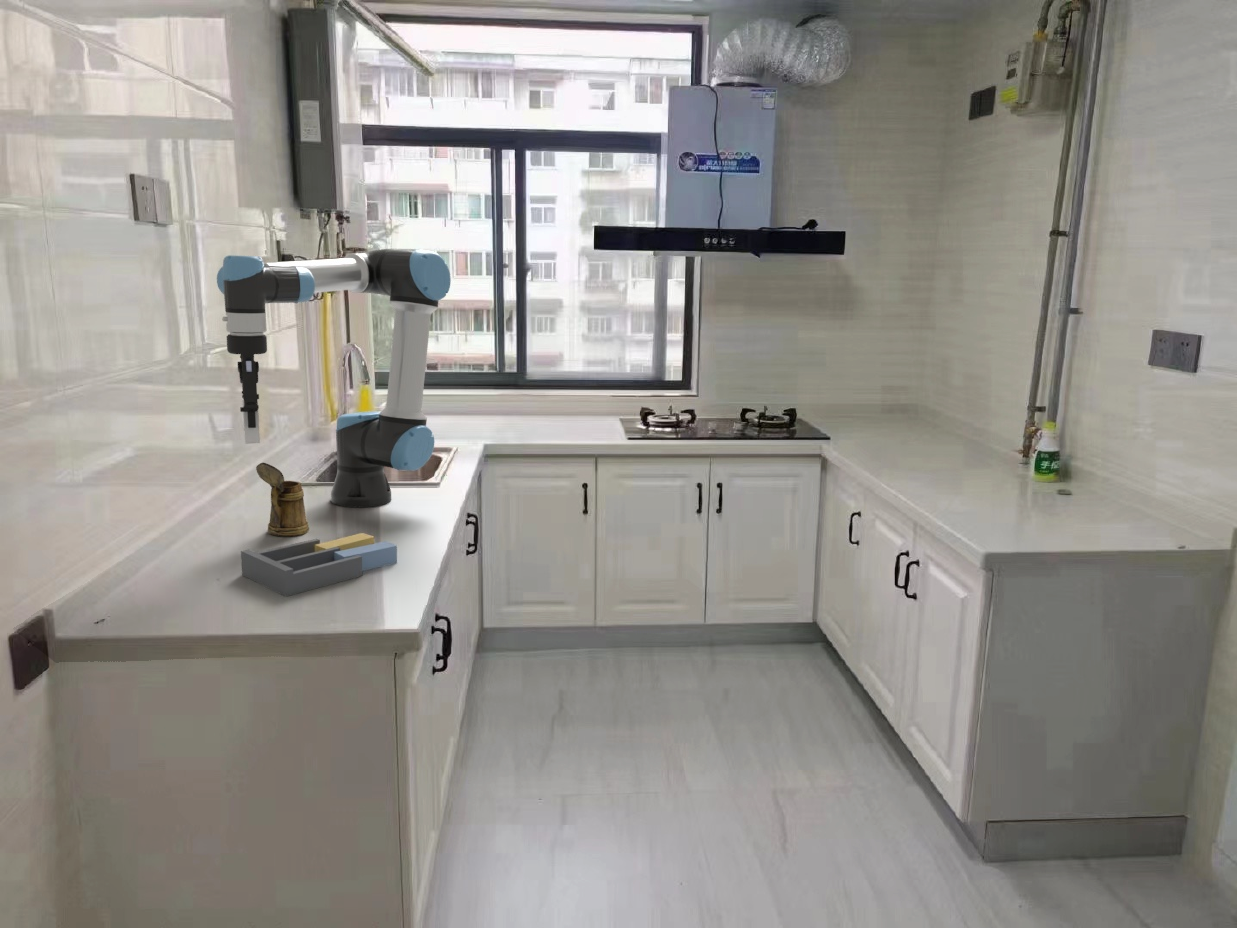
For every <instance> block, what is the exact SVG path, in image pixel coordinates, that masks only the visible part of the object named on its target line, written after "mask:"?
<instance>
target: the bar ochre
mask: <svg viewBox="0 0 1237 928" xmlns="http://www.w3.org/2000/svg"><path fill="white" fill-rule="evenodd" d="M371 544H375V536H373V535H369V534H366V533H364V532H361V533H356V534H353V535H349V536H345V537H340V538H337V539H332V540H327V541H325V542H320V544H316V545H315V552H317V551H321V550H325V549H330V548H334V547H339V548H340V551H342V550H347V549H351V548H356V547H361V546H366V545H371Z"/></svg>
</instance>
